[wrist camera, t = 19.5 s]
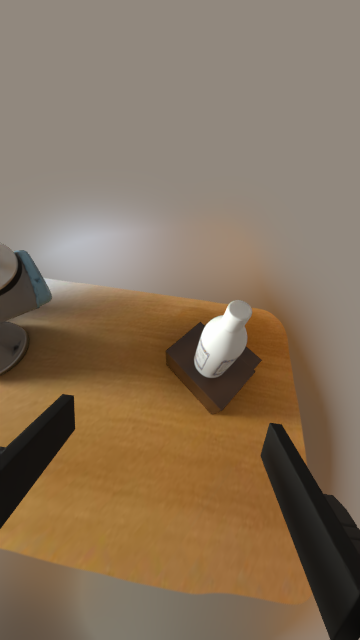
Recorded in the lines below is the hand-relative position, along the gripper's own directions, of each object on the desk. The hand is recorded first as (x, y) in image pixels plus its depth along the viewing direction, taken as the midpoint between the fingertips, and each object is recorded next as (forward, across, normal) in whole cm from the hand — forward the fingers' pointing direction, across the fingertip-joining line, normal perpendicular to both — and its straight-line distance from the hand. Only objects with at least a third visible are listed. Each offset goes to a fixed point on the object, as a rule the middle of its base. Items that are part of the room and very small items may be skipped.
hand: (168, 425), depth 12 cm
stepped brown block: (+35, +8, -13) cm, 38 cm away
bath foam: (+26, +6, -8) cm, 28 cm away
